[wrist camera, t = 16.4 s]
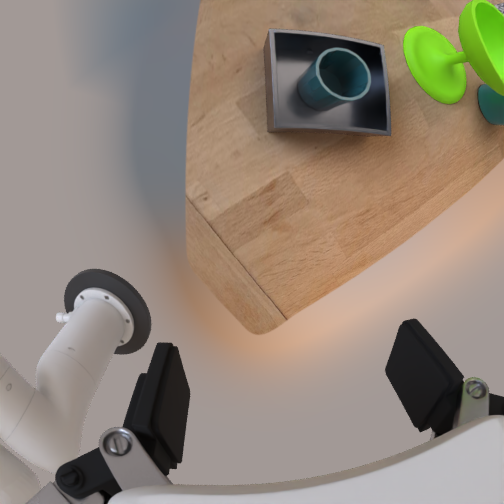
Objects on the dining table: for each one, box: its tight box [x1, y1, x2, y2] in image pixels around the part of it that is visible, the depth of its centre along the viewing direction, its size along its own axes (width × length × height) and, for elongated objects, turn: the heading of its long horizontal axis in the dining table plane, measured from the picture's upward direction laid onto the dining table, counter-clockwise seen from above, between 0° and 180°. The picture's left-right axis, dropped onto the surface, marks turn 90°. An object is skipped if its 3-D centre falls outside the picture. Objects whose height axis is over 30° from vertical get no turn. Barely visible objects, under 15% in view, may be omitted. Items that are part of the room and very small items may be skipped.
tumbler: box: [298, 47, 371, 110], centre depth 27 cm, size 7×7×9 cm
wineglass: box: [403, 0, 504, 104], centre depth 21 cm, size 16×16×18 cm
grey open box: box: [264, 29, 391, 137], centre depth 29 cm, size 15×13×7 cm
